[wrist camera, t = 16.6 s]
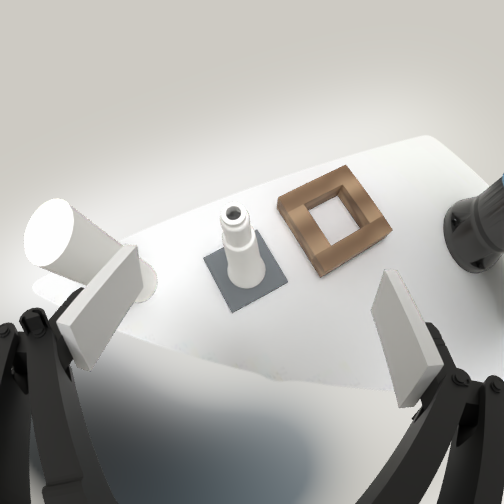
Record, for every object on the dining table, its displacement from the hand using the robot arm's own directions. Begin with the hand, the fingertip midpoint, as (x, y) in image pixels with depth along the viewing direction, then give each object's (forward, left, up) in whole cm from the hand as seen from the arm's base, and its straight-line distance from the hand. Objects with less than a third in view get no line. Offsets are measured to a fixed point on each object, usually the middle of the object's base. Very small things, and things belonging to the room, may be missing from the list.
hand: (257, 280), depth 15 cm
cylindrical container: (+15, +15, -32) cm, 38 cm away
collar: (+8, -19, -32) cm, 38 cm away
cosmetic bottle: (+8, -2, -31) cm, 32 cm away
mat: (+8, -2, -32) cm, 33 cm away
